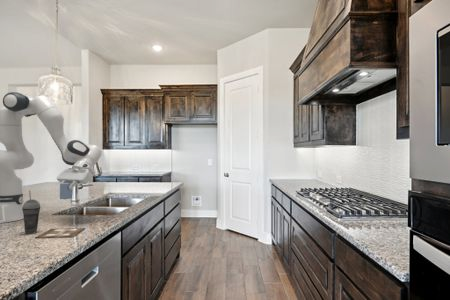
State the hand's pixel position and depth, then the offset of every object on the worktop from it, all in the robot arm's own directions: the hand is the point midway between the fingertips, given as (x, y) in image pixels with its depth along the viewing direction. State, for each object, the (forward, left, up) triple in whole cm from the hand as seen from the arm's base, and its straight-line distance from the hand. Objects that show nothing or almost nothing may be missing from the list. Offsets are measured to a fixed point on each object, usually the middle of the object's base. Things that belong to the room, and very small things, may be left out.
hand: (65, 188), depth 144 cm
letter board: (+5, -15, -19) cm, 25 cm away
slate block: (0, +1, -5) cm, 5 cm away
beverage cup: (-10, -12, -20) cm, 25 cm away
